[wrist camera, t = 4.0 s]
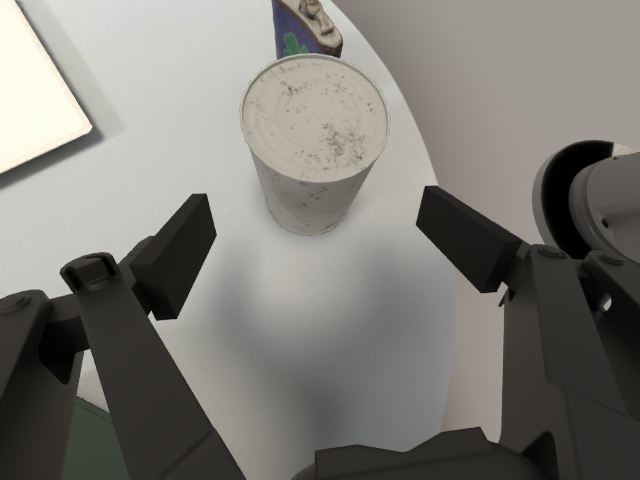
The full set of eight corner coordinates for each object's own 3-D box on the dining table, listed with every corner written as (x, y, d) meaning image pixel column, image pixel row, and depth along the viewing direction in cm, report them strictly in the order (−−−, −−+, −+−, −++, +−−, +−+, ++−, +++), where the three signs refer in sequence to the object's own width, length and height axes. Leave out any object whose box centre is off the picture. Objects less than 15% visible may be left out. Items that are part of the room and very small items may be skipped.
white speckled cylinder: (263, 235, 26) (233, 180, 14) (266, 154, 28) (243, 47, 16) (352, 236, 27) (396, 184, 15) (349, 157, 29) (384, 58, 17)
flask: (273, 73, 31) (261, -42, 20) (292, 62, 31) (289, -54, 21) (320, 124, 30) (333, 30, 19) (338, 112, 30) (360, 15, 20)
